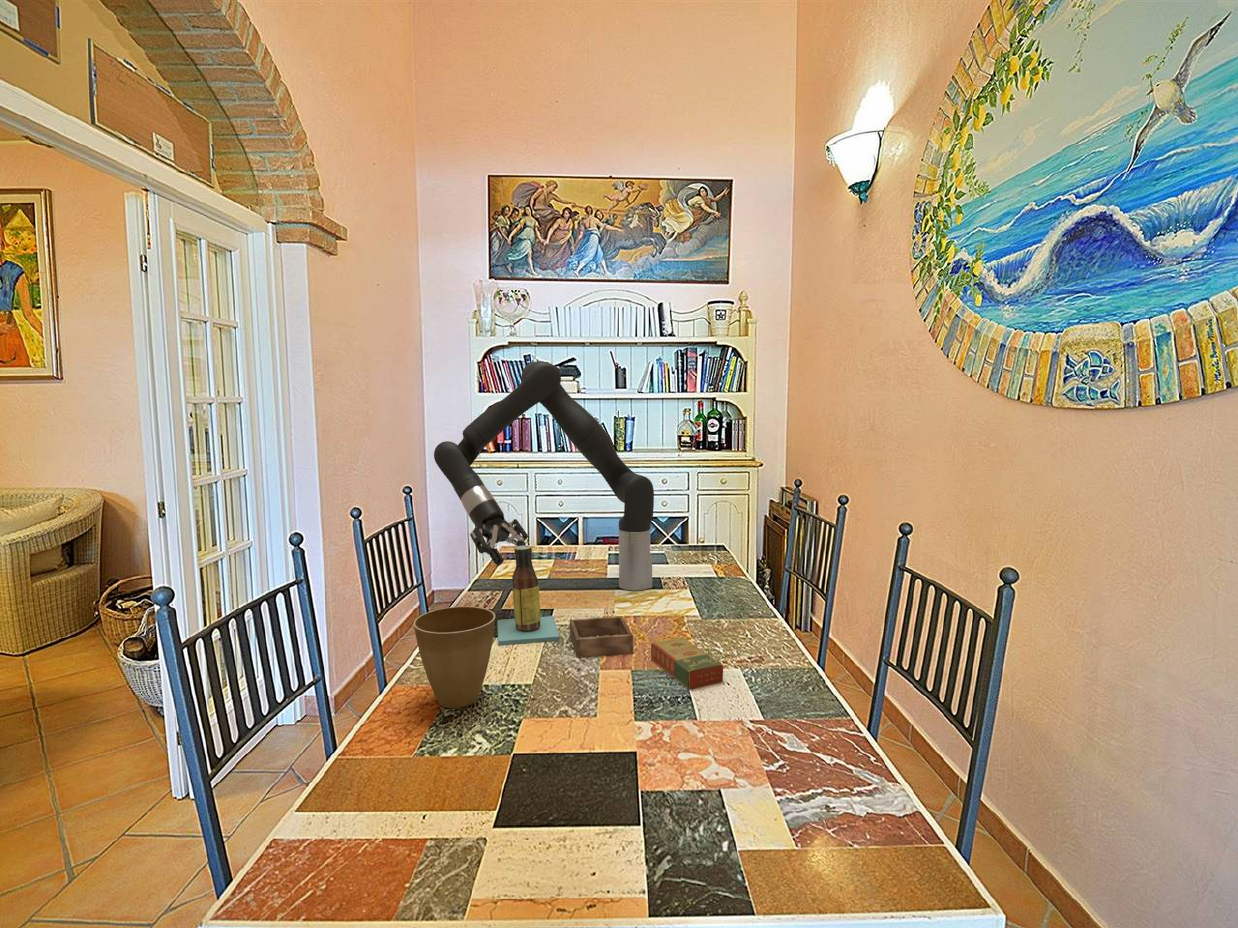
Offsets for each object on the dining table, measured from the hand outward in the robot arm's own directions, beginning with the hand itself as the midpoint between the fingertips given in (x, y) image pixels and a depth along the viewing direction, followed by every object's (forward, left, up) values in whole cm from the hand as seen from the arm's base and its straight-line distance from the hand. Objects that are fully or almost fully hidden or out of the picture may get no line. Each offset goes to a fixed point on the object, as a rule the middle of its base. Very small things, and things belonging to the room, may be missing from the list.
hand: (514, 560), depth 162 cm
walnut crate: (-19, +14, -17) cm, 29 cm away
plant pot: (+12, +35, -17) cm, 41 cm away
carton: (-34, +31, -18) cm, 49 cm away
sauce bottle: (-3, +3, -16) cm, 17 cm away
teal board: (-3, +3, -17) cm, 18 cm away
